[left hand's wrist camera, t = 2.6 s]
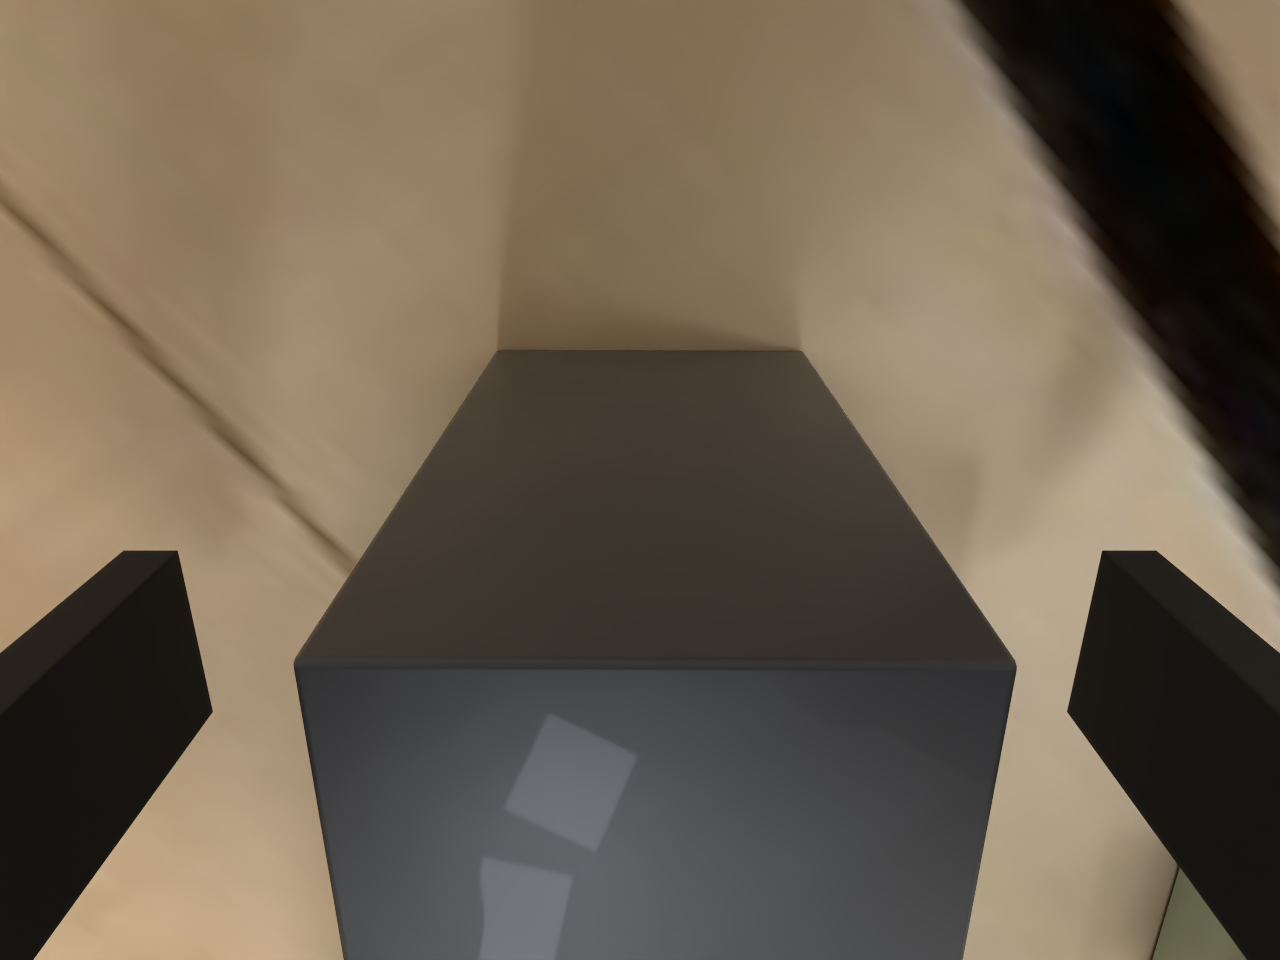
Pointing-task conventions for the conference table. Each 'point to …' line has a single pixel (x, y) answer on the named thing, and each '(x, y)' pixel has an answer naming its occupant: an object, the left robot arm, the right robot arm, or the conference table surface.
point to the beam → (653, 682)
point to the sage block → (1192, 929)
